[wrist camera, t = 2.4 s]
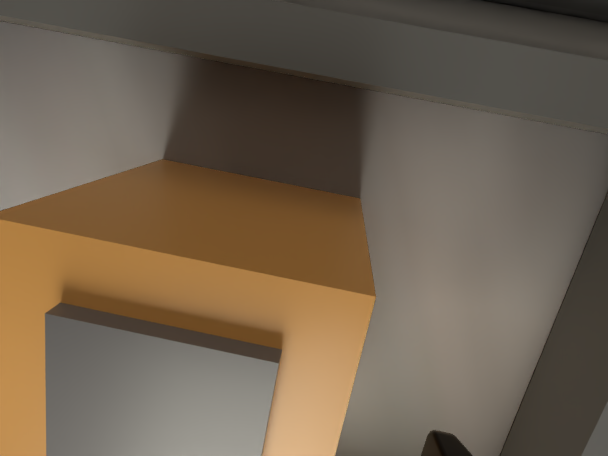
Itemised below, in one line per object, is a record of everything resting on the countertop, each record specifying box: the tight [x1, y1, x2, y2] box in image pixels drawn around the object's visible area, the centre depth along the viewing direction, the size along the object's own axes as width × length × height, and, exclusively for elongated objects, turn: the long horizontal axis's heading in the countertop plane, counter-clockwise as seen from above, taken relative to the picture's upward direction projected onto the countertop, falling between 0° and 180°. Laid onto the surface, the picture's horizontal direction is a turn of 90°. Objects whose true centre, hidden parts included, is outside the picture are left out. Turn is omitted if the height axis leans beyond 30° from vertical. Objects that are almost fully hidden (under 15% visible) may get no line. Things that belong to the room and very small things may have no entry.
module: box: [0, 159, 376, 456], centre depth 9 cm, size 5×7×6 cm
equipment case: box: [0, 0, 608, 456], centre depth 10 cm, size 18×14×2 cm
